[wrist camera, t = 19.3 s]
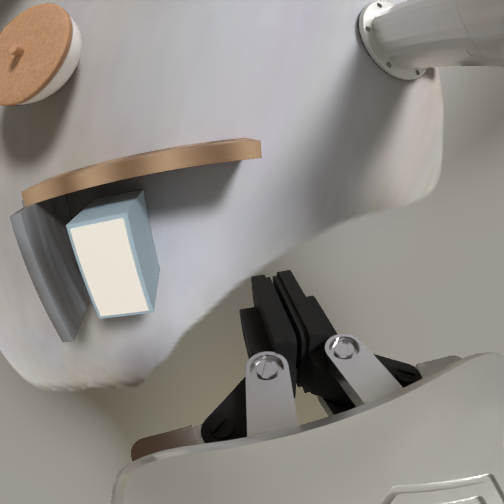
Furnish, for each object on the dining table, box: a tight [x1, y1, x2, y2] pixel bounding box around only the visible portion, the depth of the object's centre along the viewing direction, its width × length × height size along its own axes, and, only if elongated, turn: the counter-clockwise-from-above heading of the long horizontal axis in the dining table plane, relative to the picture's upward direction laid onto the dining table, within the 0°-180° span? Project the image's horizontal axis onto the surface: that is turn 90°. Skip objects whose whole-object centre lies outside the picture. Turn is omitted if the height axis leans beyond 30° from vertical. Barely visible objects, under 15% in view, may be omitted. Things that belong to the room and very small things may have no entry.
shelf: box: [10, 138, 262, 342], centre depth 25 cm, size 28×16×10 cm, turn 95°
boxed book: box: [66, 190, 160, 319], centre depth 26 cm, size 6×10×9 cm, turn 4°
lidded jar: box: [0, 3, 82, 106], centre depth 15 cm, size 11×11×9 cm
